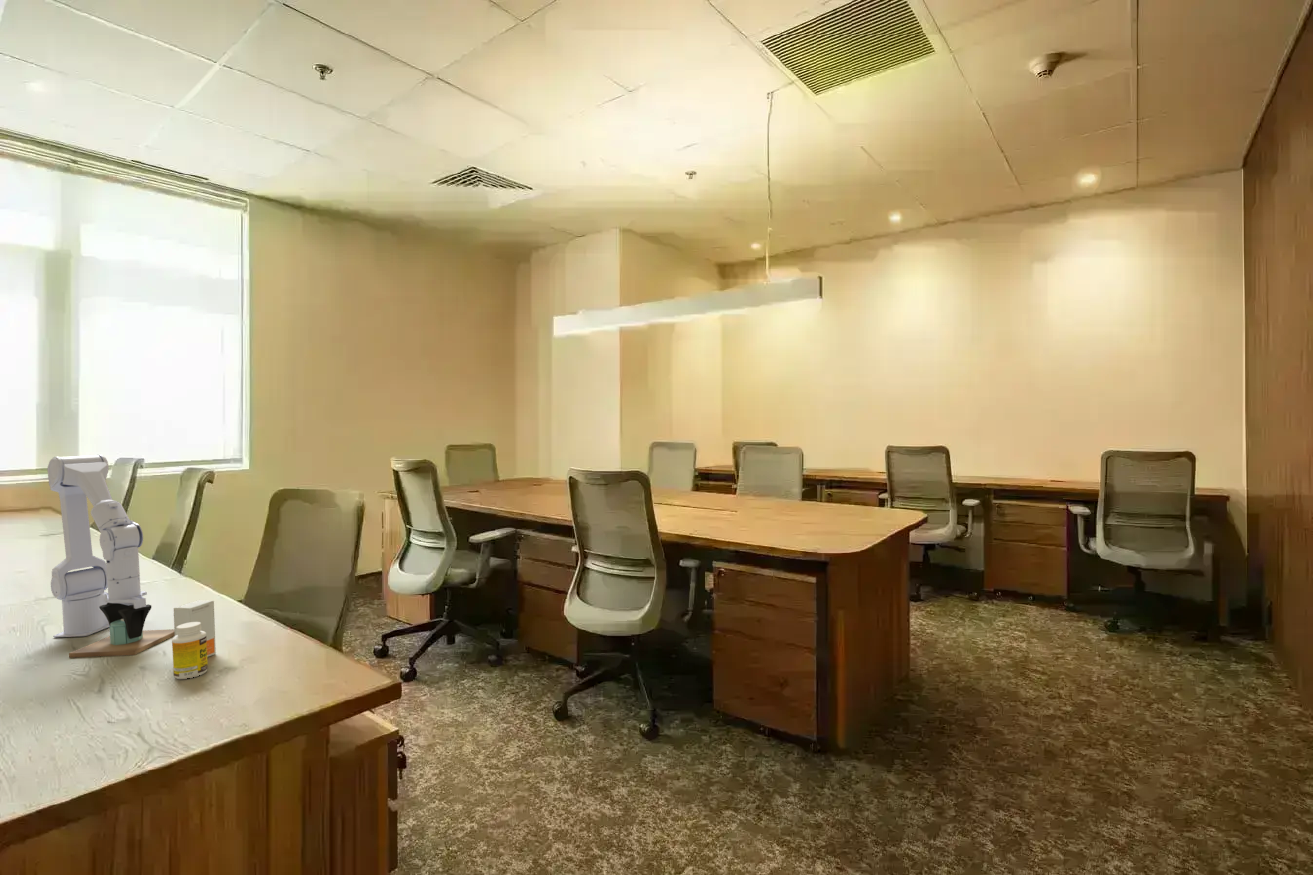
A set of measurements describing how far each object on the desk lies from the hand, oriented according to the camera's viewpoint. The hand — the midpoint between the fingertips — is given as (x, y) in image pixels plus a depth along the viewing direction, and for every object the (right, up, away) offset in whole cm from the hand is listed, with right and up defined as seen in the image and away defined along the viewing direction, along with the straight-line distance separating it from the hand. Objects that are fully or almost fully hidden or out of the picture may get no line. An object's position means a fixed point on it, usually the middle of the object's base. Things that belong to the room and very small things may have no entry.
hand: (127, 635), depth 144 cm
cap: (0, -1, 0) cm, 1 cm away
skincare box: (+24, -2, -10) cm, 26 cm away
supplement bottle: (+29, -2, -19) cm, 34 cm away
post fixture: (0, -2, 0) cm, 2 cm away
